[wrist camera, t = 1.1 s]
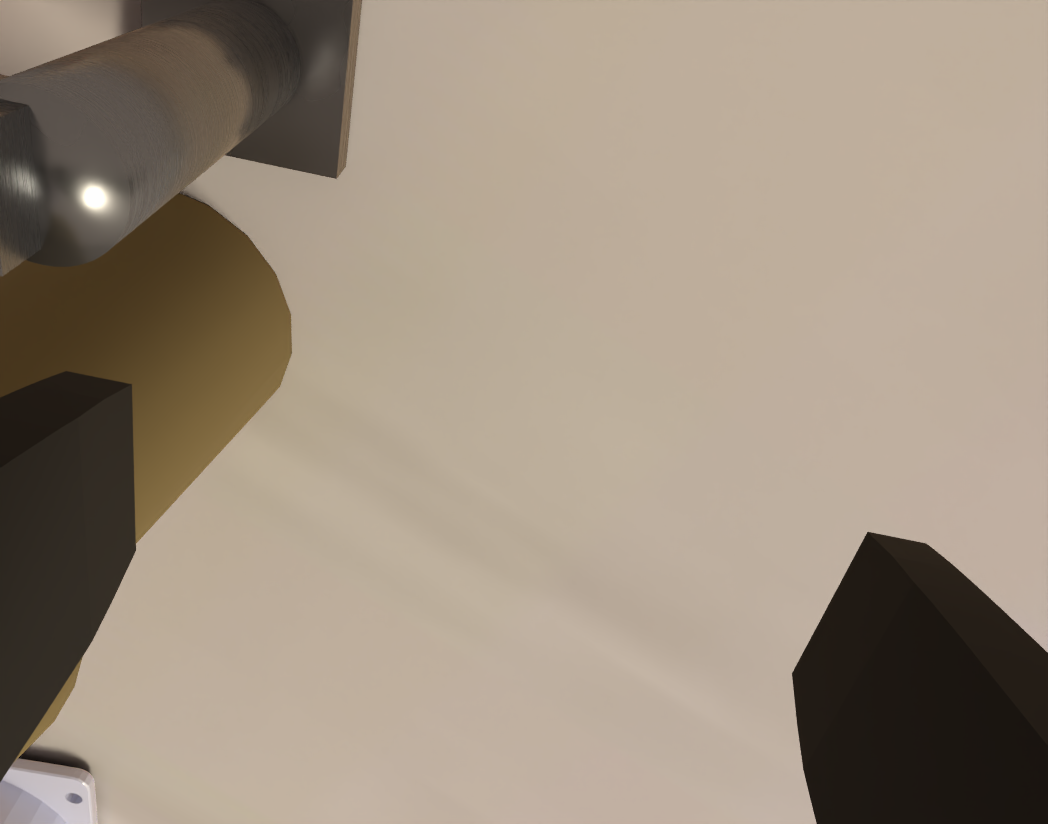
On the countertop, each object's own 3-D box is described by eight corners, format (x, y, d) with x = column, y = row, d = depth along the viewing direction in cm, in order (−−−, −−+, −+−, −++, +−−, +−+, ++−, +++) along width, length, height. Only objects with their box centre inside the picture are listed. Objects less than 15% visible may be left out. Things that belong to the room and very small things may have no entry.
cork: (-43, 293, 19) (-622, 692, 10) (131, 117, 17) (-397, 416, 8) (172, 475, 22) (-133, 939, 12) (349, 341, 20) (145, 778, 10)
